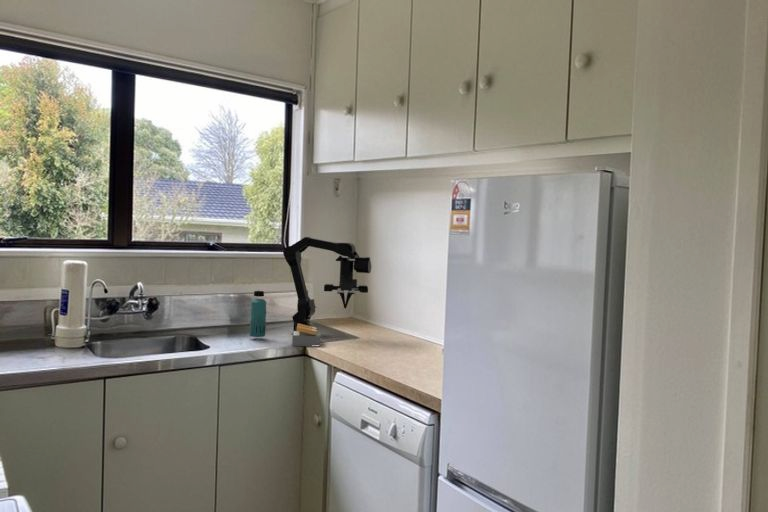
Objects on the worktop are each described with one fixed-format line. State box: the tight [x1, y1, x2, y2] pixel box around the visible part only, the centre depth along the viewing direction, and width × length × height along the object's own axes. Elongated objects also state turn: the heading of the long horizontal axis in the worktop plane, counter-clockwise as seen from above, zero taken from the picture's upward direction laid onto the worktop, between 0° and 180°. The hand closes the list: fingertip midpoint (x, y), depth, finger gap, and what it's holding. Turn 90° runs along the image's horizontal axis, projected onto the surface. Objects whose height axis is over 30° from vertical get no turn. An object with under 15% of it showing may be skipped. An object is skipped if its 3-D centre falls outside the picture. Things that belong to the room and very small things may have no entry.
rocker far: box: [297, 323, 318, 331], centre depth 235 cm, size 8×4×2 cm, turn 98°
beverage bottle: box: [249, 290, 267, 338], centre depth 236 cm, size 6×7×20 cm
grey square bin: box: [291, 331, 322, 347], centre depth 233 cm, size 11×11×5 cm
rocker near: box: [296, 326, 318, 335], centre depth 230 cm, size 8×4×2 cm, turn 98°
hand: (345, 308), depth 247 cm, fingers closed
